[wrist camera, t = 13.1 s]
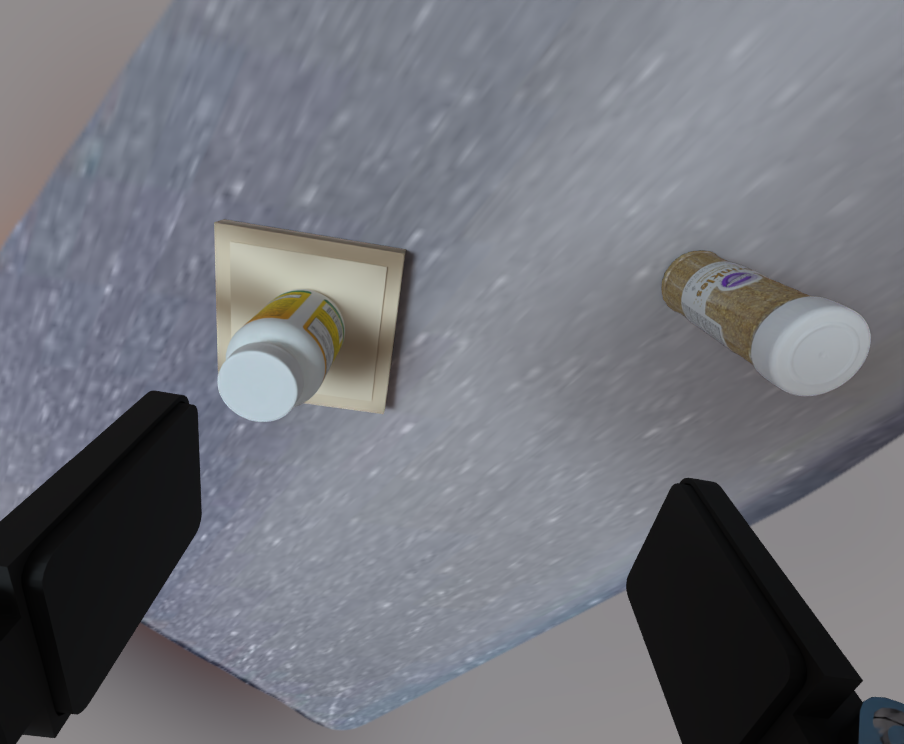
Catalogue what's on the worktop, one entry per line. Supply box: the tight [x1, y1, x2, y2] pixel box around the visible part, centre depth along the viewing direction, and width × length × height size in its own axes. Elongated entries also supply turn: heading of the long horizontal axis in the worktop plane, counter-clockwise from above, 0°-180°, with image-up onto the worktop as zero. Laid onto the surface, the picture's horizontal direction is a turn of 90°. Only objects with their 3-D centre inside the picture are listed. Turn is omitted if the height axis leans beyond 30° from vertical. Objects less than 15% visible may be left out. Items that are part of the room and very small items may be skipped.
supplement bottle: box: [218, 289, 345, 422], centre depth 30 cm, size 5×5×10 cm
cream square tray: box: [214, 219, 406, 414], centre depth 35 cm, size 12×12×2 cm
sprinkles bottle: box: [662, 251, 871, 396], centre depth 29 cm, size 5×5×14 cm
